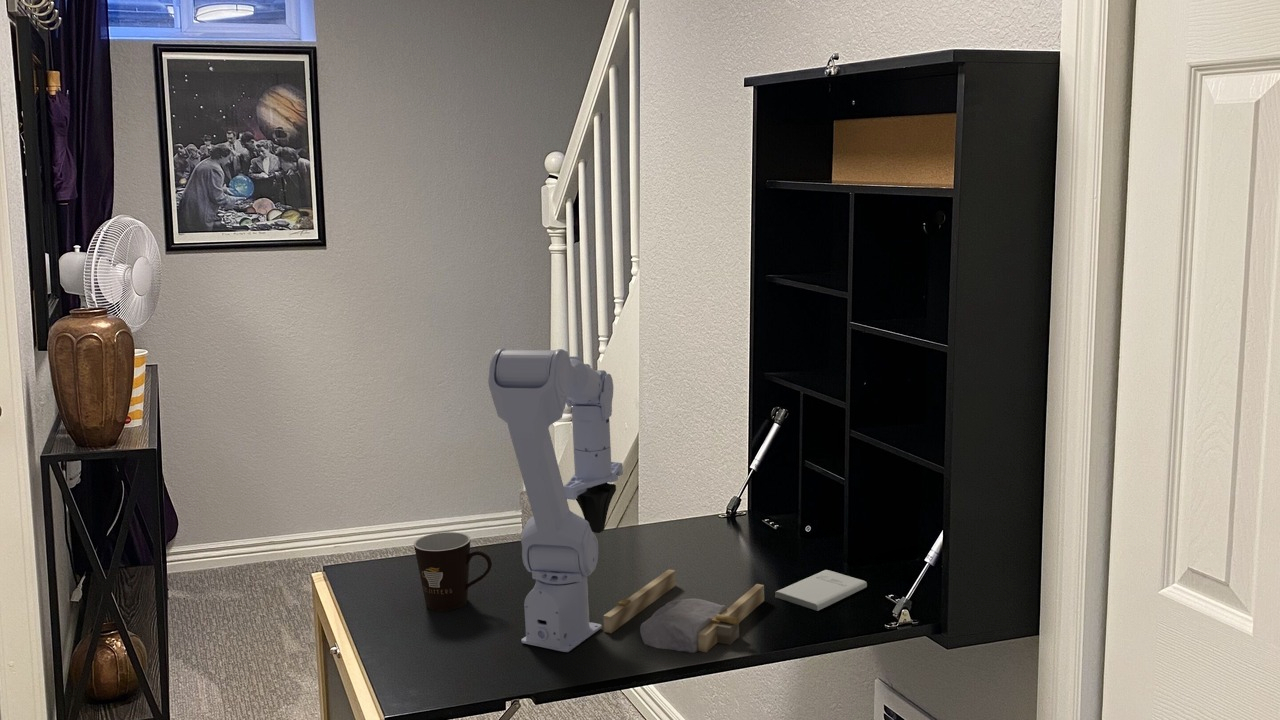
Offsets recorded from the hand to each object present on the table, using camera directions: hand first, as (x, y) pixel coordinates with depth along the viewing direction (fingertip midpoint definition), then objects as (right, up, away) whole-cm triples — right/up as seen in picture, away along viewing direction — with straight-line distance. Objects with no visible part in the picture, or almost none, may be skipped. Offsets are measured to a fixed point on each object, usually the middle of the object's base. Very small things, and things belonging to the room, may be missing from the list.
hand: (596, 531), depth 182 cm
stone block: (+13, -13, -15) cm, 23 cm away
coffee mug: (-22, -11, -1) cm, 25 cm away
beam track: (+15, -11, -10) cm, 21 cm away
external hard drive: (+35, -10, -2) cm, 36 cm away
